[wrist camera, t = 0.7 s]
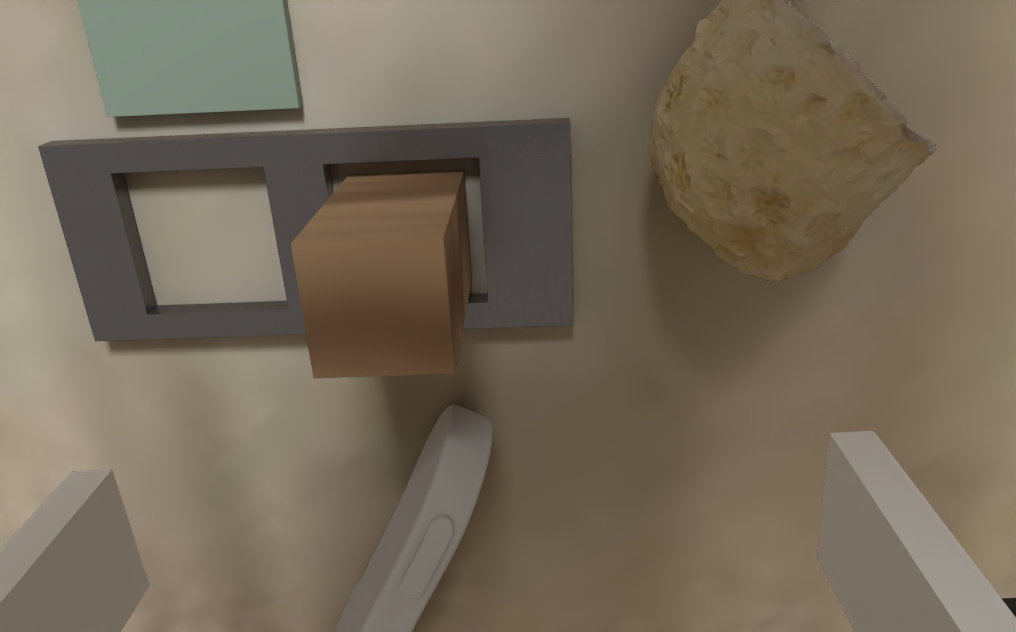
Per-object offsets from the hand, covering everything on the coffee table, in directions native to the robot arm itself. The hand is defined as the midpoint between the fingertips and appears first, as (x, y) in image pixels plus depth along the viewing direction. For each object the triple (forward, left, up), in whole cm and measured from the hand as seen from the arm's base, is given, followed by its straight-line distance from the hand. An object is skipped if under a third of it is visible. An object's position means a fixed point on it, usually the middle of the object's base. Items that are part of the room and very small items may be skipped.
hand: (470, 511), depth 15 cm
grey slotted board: (+1, -8, -21) cm, 23 cm away
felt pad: (-8, -12, -21) cm, 26 cm away
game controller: (+18, -6, -22) cm, 29 cm away
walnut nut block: (+1, -4, -22) cm, 22 cm away
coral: (-3, +10, -22) cm, 24 cm away
